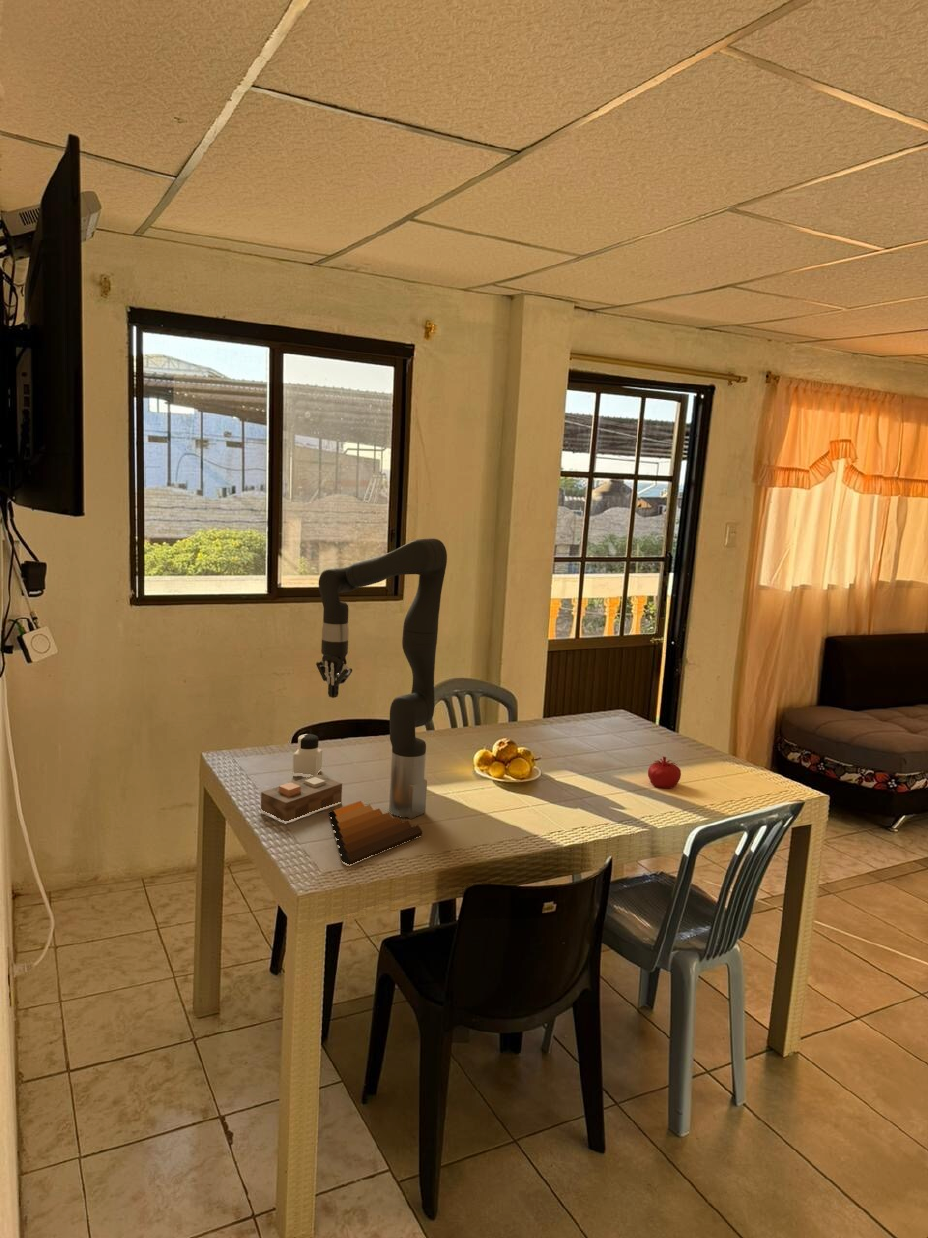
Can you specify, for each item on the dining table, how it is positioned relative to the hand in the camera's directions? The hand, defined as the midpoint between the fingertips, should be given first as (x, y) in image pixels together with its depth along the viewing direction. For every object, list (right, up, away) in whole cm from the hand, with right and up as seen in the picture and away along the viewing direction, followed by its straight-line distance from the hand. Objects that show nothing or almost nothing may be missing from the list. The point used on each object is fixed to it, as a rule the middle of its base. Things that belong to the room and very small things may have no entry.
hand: (333, 696), depth 248 cm
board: (-7, -29, -13) cm, 33 cm away
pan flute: (+9, -34, -28) cm, 45 cm away
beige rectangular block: (-4, -28, -10) cm, 29 cm away
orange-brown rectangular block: (-9, -28, -17) cm, 34 cm away
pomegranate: (+100, -30, +22) cm, 107 cm away
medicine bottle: (-10, -25, +13) cm, 30 cm away
